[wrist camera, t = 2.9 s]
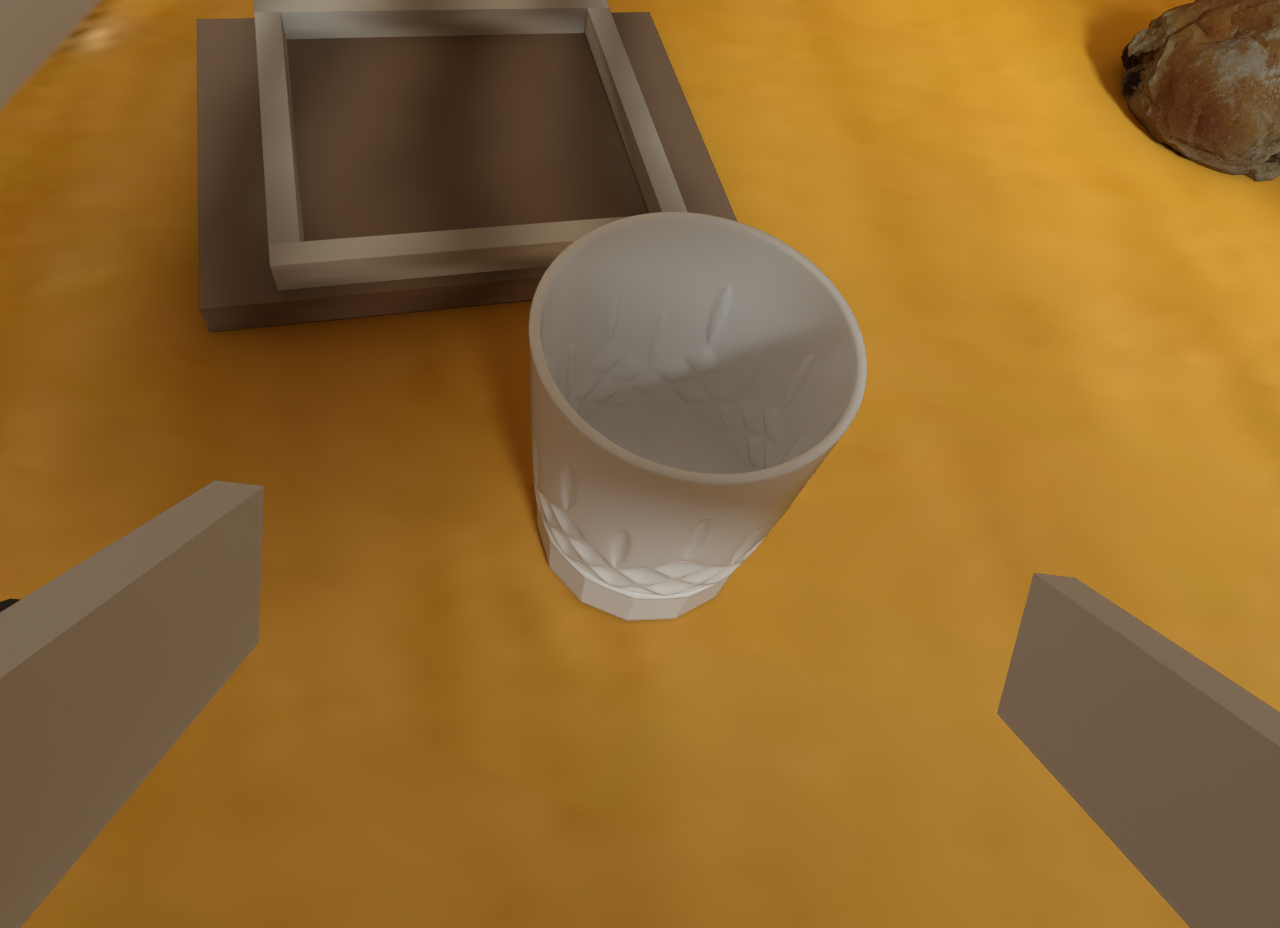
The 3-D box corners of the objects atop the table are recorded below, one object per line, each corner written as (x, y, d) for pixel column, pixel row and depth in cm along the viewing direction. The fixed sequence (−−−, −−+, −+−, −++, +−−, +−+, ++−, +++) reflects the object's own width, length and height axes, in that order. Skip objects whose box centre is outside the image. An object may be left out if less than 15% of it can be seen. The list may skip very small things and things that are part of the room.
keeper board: (645, 35, 42) (653, -13, 40) (744, 278, 34) (760, 235, 32) (205, 45, 37) (188, -9, 35) (209, 331, 29) (188, 284, 27)
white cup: (469, 511, 27) (455, 305, 19) (643, 388, 31) (698, 167, 22) (636, 694, 25) (706, 554, 17) (804, 539, 29) (933, 358, 20)
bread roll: (1152, 237, 45) (1318, 168, 38) (1067, 62, 45) (1219, -42, 37) (1247, 179, 49) (1414, 106, 42) (1170, 17, 49) (1326, -85, 41)
